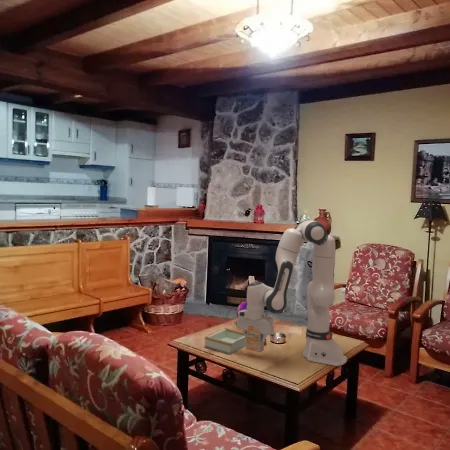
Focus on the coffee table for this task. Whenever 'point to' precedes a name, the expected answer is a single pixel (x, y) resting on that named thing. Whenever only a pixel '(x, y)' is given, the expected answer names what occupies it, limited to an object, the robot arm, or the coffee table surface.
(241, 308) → the decorative orb
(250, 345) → the supplement box
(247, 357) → the coffee table surface
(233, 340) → the crate
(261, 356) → the coffee table surface
